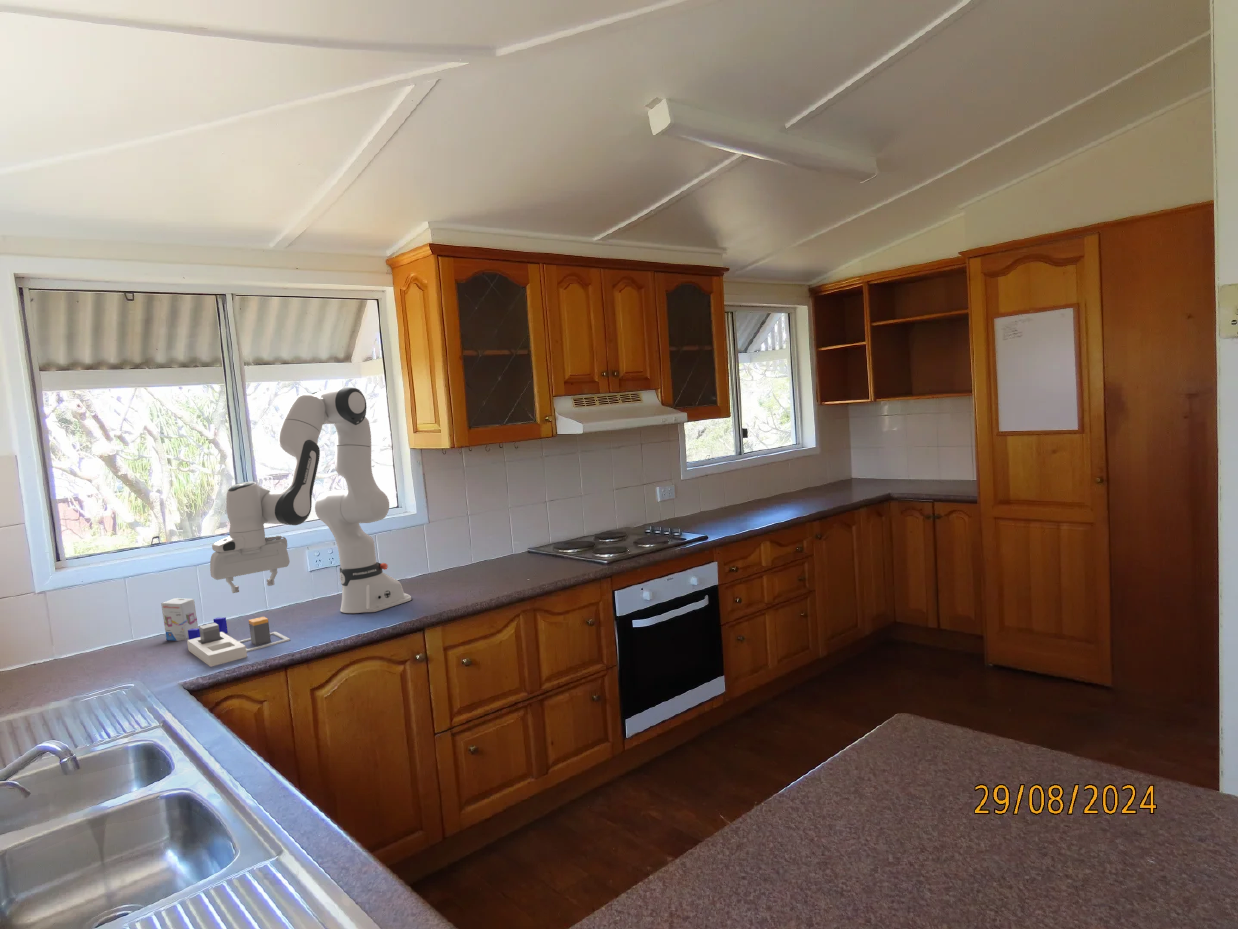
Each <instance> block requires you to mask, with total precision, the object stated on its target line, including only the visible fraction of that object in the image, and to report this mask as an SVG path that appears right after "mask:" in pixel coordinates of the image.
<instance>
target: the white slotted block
mask: <svg viewBox="0 0 1238 929" xmlns="http://www.w3.org/2000/svg"><path fill="white" fill-rule="evenodd" d="M220 639H221V640H218V641H214V642H210V643H206V644H201V638H200V637H198V638H194V639H190V640H189V639H186V642H187V649H188V652H189V653H191V654H193V656H195V657H196V658H197V659H199V660H200V661H201V662H203V663H204V664H206V665H207V666H209V667H210V668H212V667H216V666H219V665H223V664H227V663H231V662H235V661H239V660H242V659H245V658H248V652H247V651H246V648H247V645H245V644H243V642H242V643H240V642H238V641H239V640H237V639H235V638H233V637H232V636H230V635H228V633H227V634H225V633H223V632H220Z"/></svg>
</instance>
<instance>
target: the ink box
mask: <svg viewBox="0 0 1238 929" xmlns="http://www.w3.org/2000/svg"><path fill="white" fill-rule="evenodd" d="M160 604H161V611H162V617H163V625H164V631H165V638H166V640H167V641H174V642H175V641H178V642H180V641H183V640H184V641H185V640H189V636H188V630H189V629H195V628H199V624H198V617H197V616H198V615H197V610H196V603H195V599H194V598H184V597H183V598H182V597H181V598H180V597H174V598H172V599H169V600H166V601H164V602H161V603H160Z"/></svg>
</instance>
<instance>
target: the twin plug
mask: <svg viewBox="0 0 1238 929" xmlns="http://www.w3.org/2000/svg"><path fill="white" fill-rule="evenodd" d="M198 628H199V631H200V638H201V644H206V643H210V642H214V641H218V640H221V639H220V631H219V625H218V624H216V623H214V622H212V623H206V624H203V625H198Z"/></svg>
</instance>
